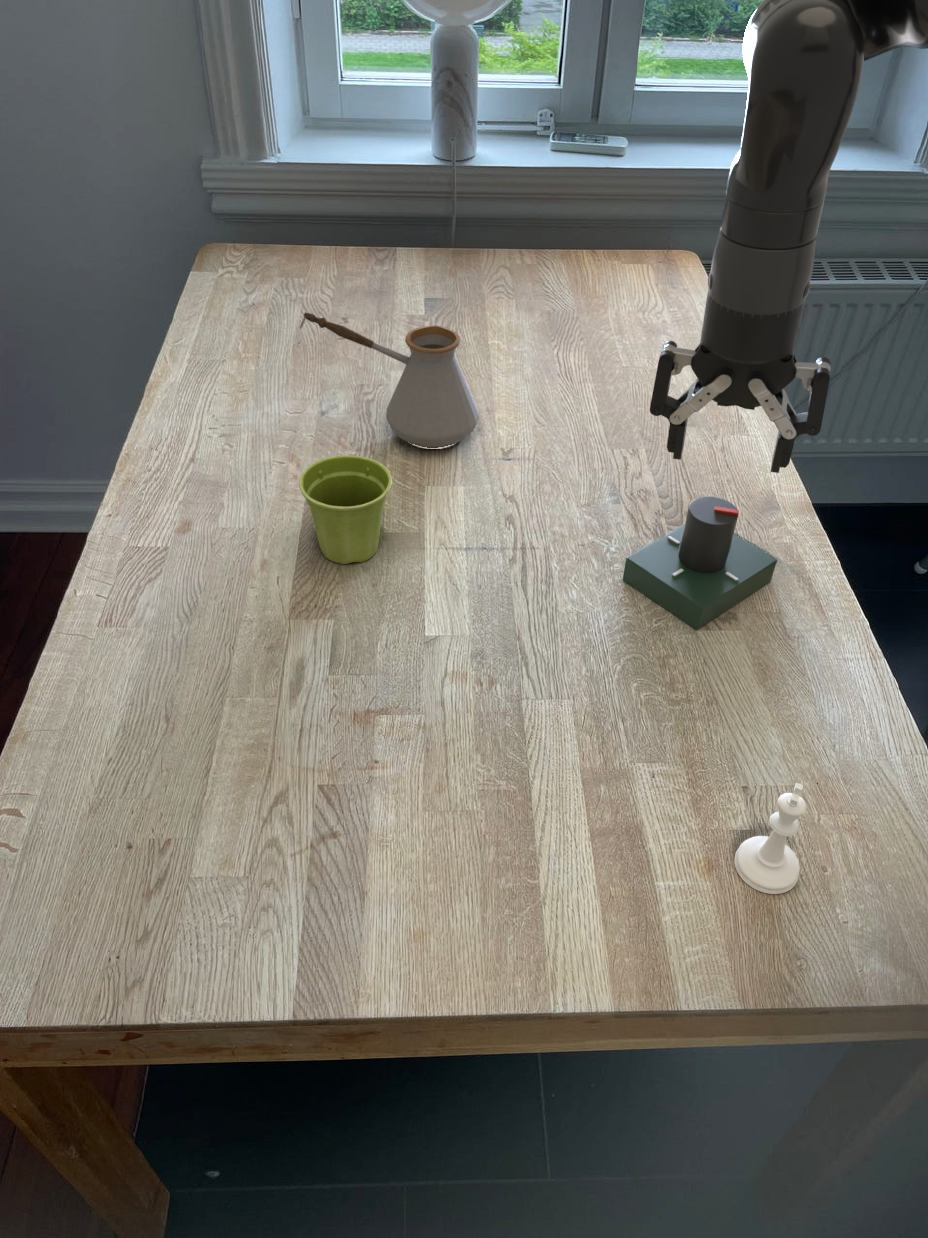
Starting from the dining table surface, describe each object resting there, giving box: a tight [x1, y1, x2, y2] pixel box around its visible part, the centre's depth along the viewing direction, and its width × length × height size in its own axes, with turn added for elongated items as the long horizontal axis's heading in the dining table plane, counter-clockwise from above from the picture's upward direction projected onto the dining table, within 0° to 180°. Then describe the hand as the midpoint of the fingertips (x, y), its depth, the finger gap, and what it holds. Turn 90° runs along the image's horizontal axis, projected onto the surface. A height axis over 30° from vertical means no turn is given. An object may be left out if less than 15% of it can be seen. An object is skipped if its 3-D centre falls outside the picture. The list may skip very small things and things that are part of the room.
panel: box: [622, 523, 778, 631], centre depth 100 cm, size 12×10×3 cm
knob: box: [679, 496, 740, 573], centre depth 97 cm, size 5×5×6 cm
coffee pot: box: [299, 311, 480, 448], centre depth 117 cm, size 21×12×15 cm, turn 85°
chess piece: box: [733, 782, 807, 895], centre depth 72 cm, size 5×5×10 cm
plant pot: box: [298, 454, 393, 565], centre depth 101 cm, size 9×9×9 cm
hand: (725, 460), depth 87 cm, fingers open, 8 cm apart
